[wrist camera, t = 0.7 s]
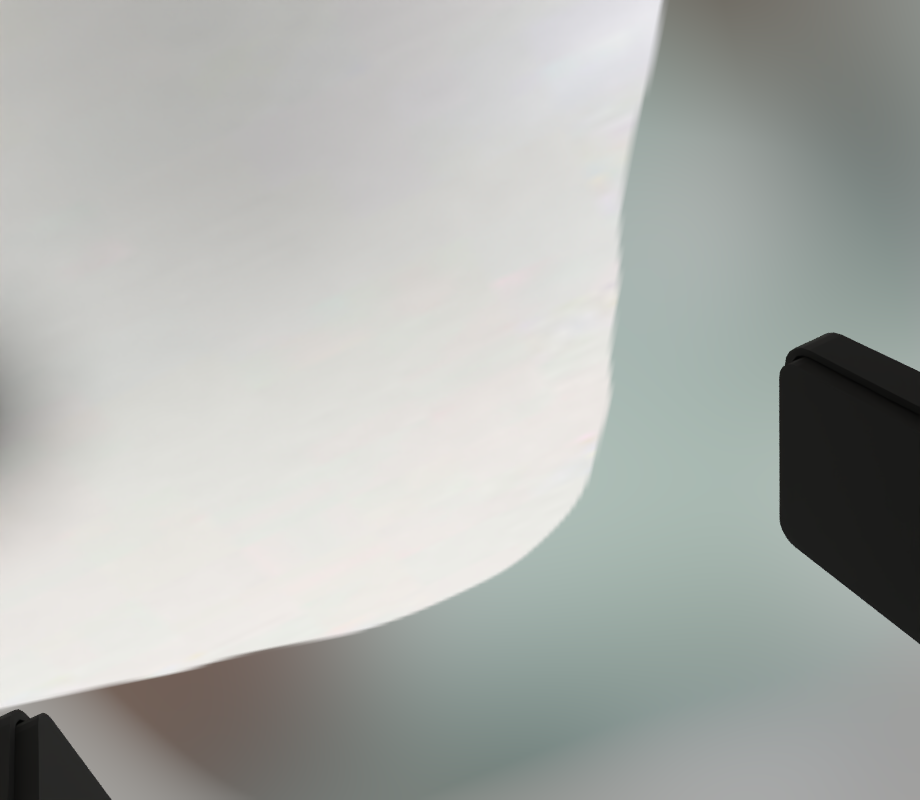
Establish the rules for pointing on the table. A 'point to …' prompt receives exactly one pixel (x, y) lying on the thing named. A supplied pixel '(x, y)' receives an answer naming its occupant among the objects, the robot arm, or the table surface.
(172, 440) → the table surface
